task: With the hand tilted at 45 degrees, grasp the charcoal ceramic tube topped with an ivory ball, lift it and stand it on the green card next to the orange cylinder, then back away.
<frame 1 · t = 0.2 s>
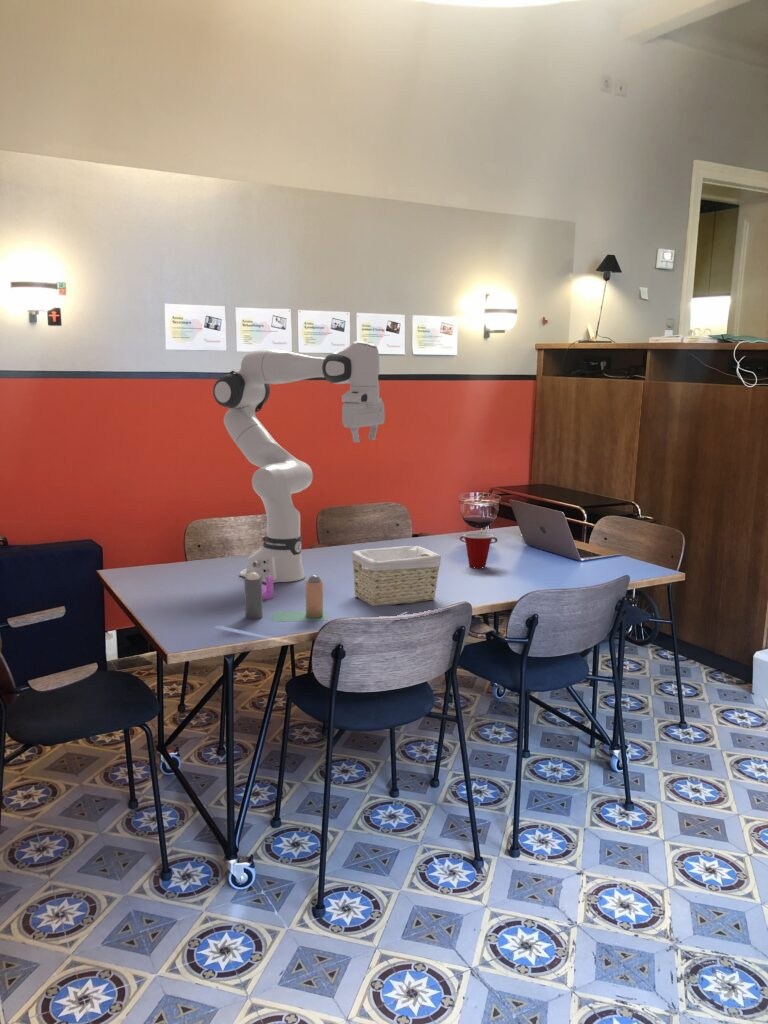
hand: (364, 440, 243), 48 cm above the table, tool pointing down, fingers open, 8 cm apart
green card: (300, 618, 222), on the table
orange cylinder: (314, 615, 223), point 1 cm above the table, touching green card
charcoal tube: (253, 619, 221), on the table
plastic cup: (477, 567, 284), on the table
storage basket: (395, 599, 243), on the table
bracket: (260, 594, 246), on the table
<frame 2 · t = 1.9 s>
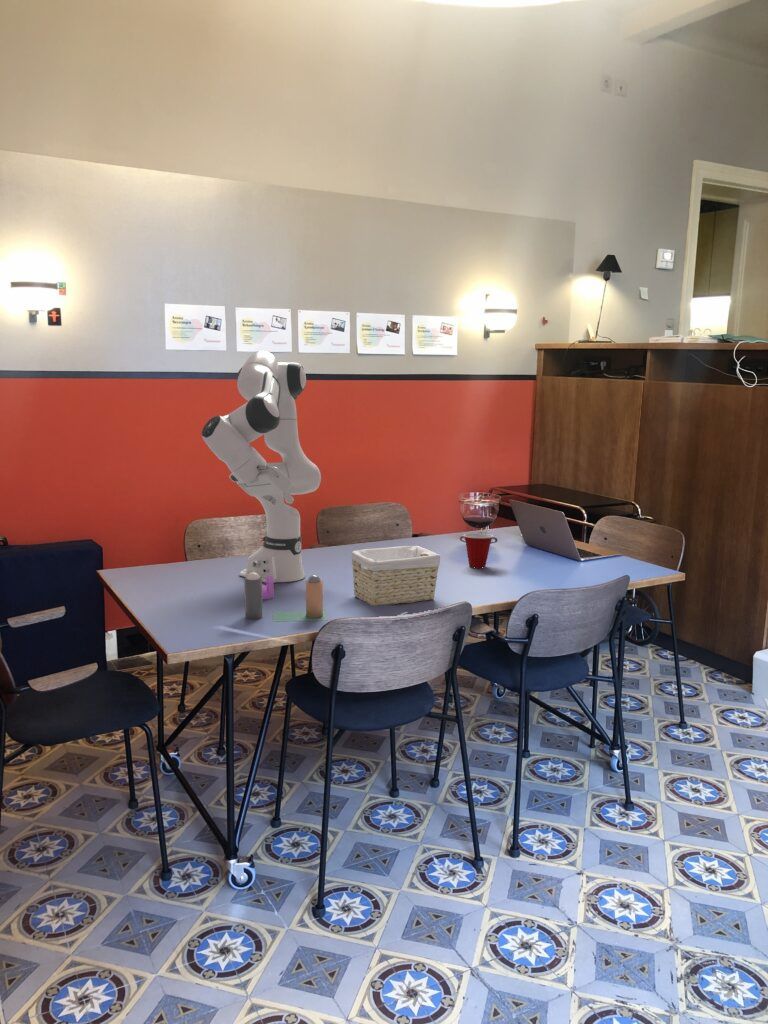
hand: (283, 502, 218), 33 cm above the table, tool tilted 40°, fingers open, 8 cm apart
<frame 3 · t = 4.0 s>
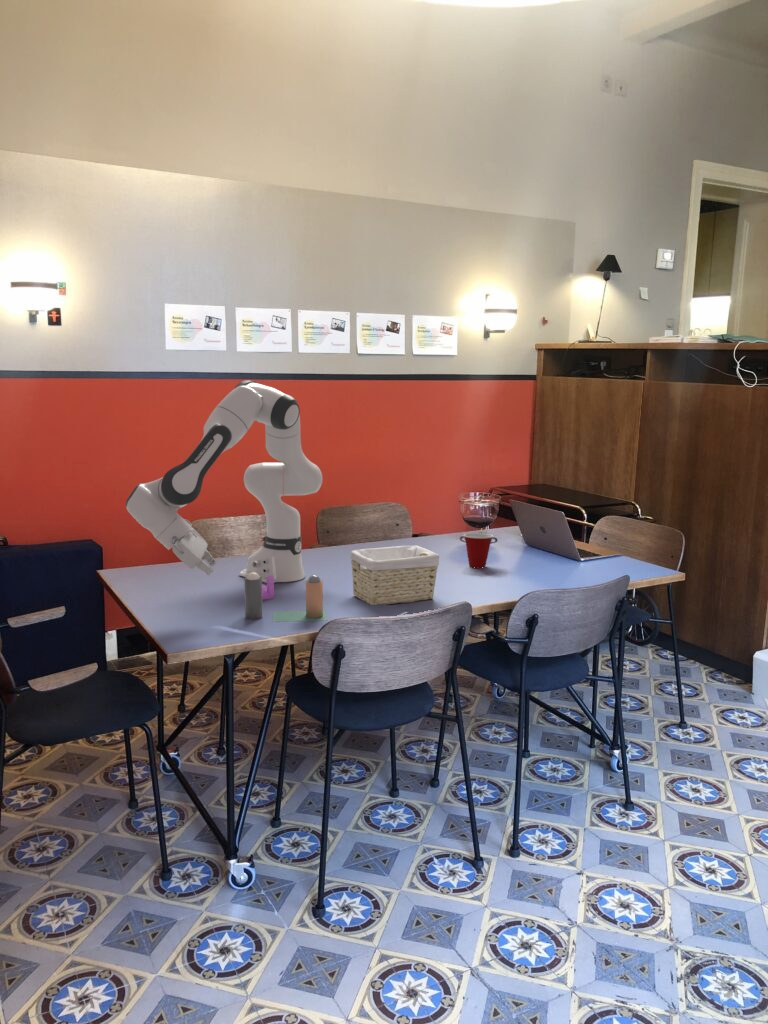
hand: (213, 568, 217), 15 cm above the table, tool tilted 45°, fingers open, 8 cm apart
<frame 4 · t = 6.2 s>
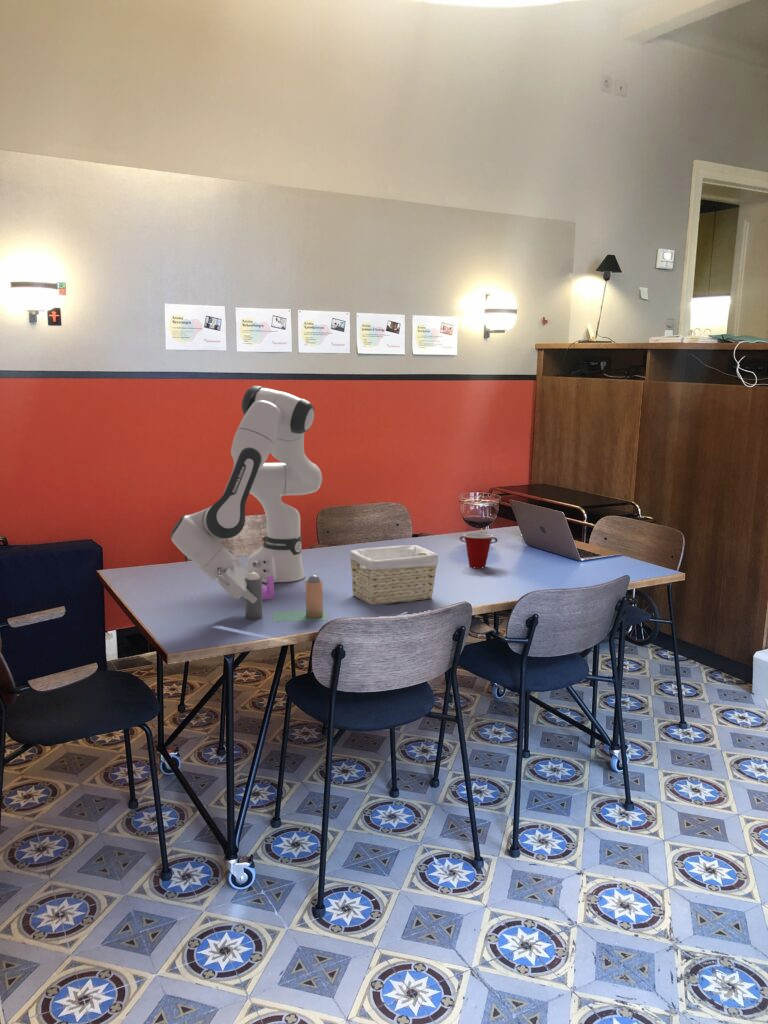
hand: (255, 597, 220), 6 cm above the table, tool tilted 45°, fingers closed on charcoal tube, 5 cm apart
charcoal tube: (253, 619, 221), on the table, touching gripper
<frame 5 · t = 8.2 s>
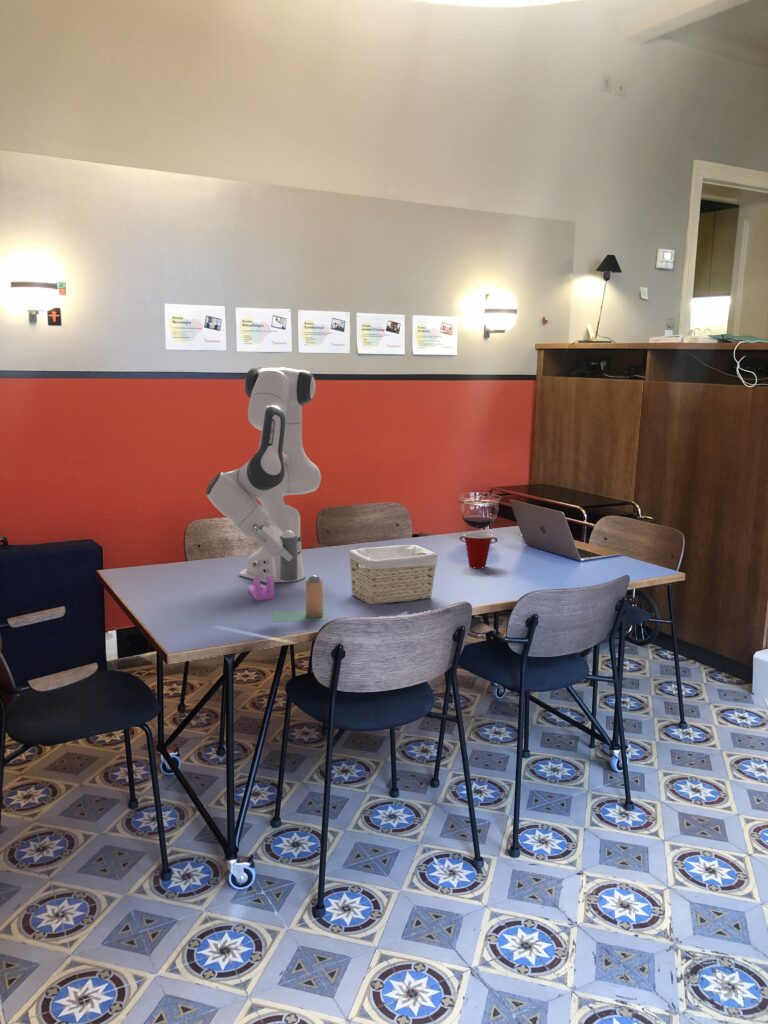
hand: (290, 556, 219), 18 cm above the table, tool tilted 45°, fingers closed on charcoal tube, 5 cm apart
charcoal tube: (288, 578, 220), point 12 cm above the table, touching gripper
when the fingers open (8 cm above the table, at t = 10.3 s): charcoal tube drops 1 cm, resting on green card.
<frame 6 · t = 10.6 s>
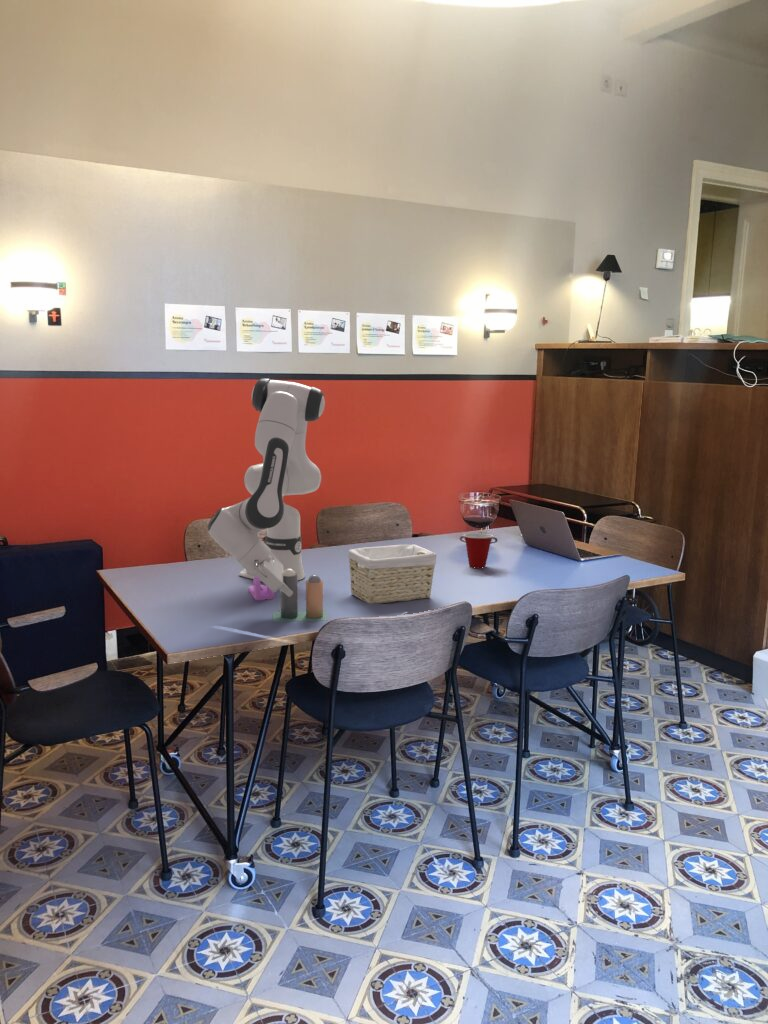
hand: (291, 590, 221), 8 cm above the table, tool tilted 45°, fingers open, 7 cm apart
charcoal tube: (289, 615, 222), point 1 cm above the table, touching green card
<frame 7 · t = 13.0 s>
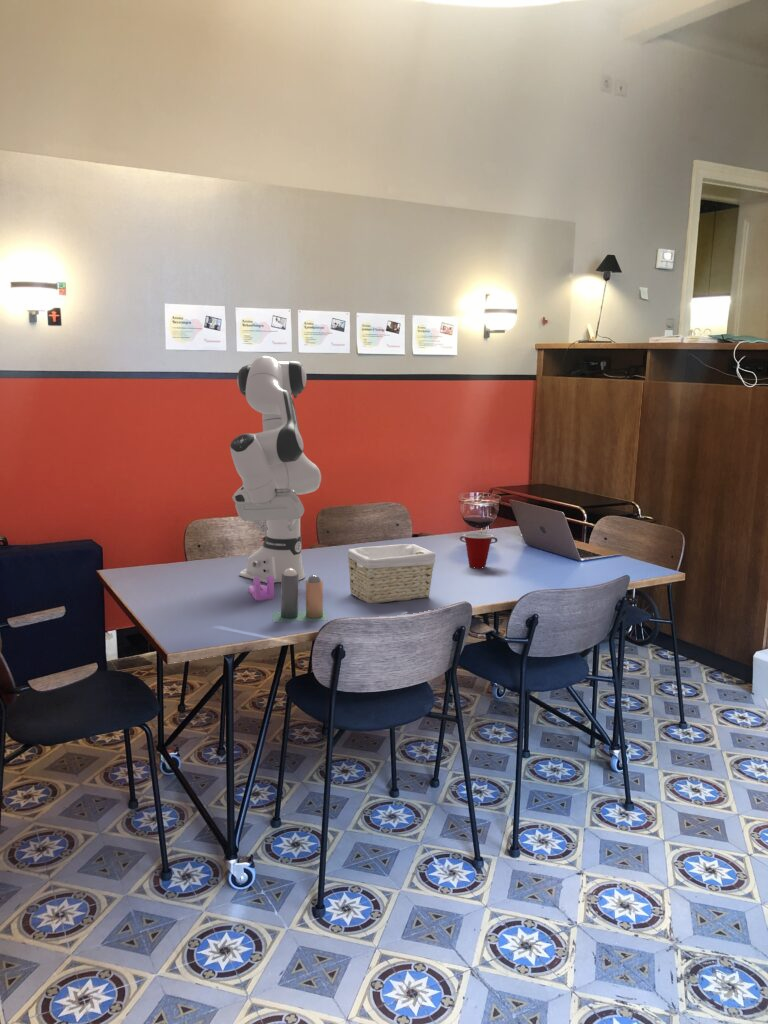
hand: (278, 530, 225), 24 cm above the table, tool tilted 25°, fingers open, 8 cm apart
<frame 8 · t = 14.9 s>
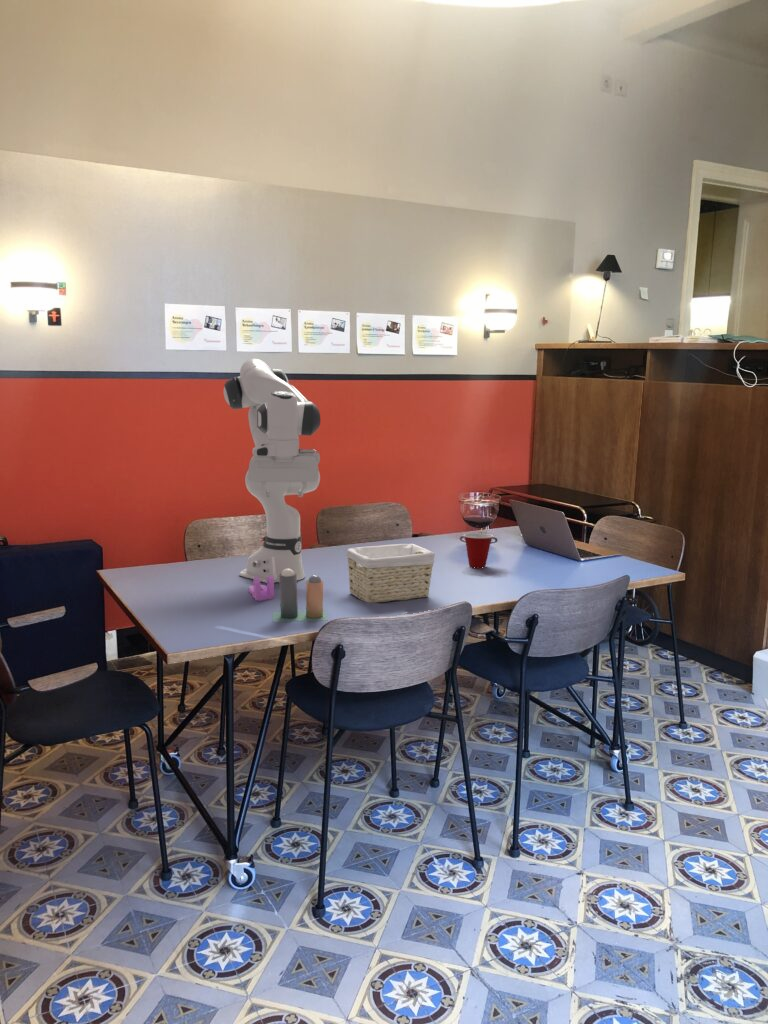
hand: (283, 496, 227), 33 cm above the table, tool pointing down, fingers open, 8 cm apart
at the end: charcoal tube 3.0 cm from the green card (horizontally); charcoal tube tilted 2°; charcoal tube point 0.9 cm above the table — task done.
